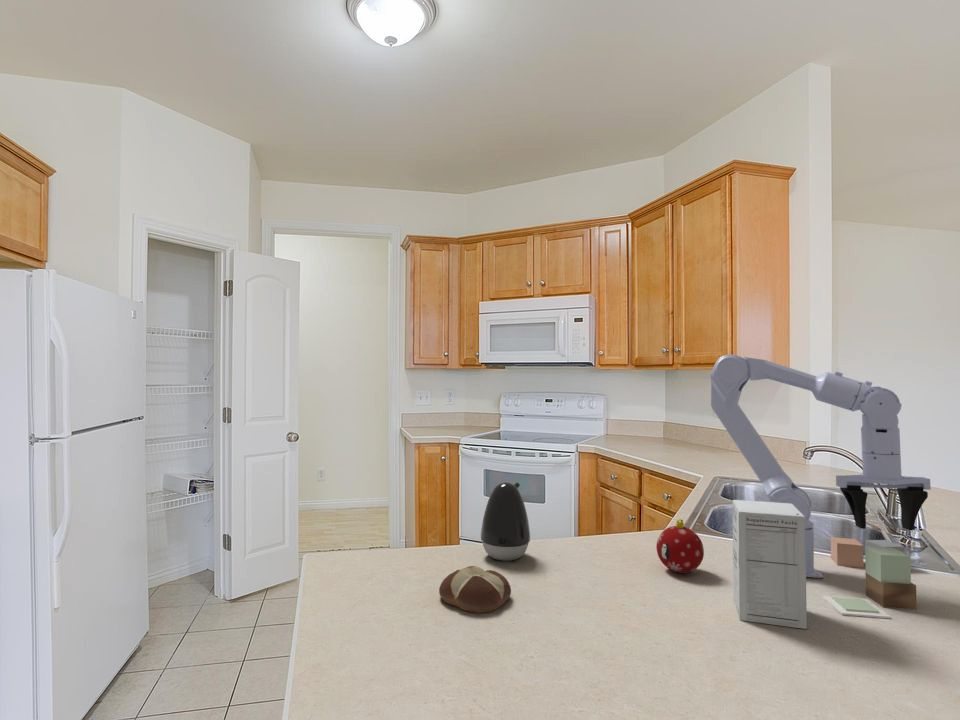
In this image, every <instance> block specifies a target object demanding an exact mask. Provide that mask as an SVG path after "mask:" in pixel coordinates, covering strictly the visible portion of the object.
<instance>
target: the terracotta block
mask: <svg viewBox="0 0 960 720" xmlns="http://www.w3.org/2000/svg"><path fill="white" fill-rule="evenodd" d="M830 559H831V560H832V561H833V562H834V563H835V565H836V566H842V567H849V568H860V569H864V561H865V560H864V544H862V543H861V542H859V541H858V539H856V538H845V537H844V538H843V537H833V536H830Z"/></svg>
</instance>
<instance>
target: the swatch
mask: <svg viewBox="0 0 960 720" xmlns="http://www.w3.org/2000/svg"><path fill="white" fill-rule="evenodd" d="M820 598H821V599H823V600H824V601H825V602H826V603H827V604H829V605H830V606H831V607H832V608H833V609H834V610H835V611H837V613H839V614H840V615H842V616H851V617H863V618H864V617H865V618H878V619H888V620H889V619H890V620H891V619H892V617H891V615H889V614H888V613H887V612H885V611H884V610H882V609H881V608H880V607H879V606H877V605H876V604H874V603H873V602H872V601H870V600H869V599H867V598H856V597H846V596H845V597H844V596H830V595H821V597H820Z"/></svg>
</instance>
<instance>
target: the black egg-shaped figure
mask: <svg viewBox="0 0 960 720" xmlns="http://www.w3.org/2000/svg"><path fill="white" fill-rule="evenodd" d="M519 488H520V483H519V482H515V483H514V484H513V483H512V482H511V483H510V482H501V483H499V484H498V483H497V485H496V486H495V487H494V489H493V490H492V492H491V494H490V496H489V498H488V501H487V503H486V506H485V509H484V514H483V519H482V522H481V523H482V524H481V529H480V540H481V542H482V546H483V548H484V551H485V552H486V554H487V555H488V556H489V557H491V558H492V559H495V560H498V561H501V562H502V561H505V562H509V561H514V560H517V559H519V558H520V557H522V556H523V555H524V554H525V553H526V551H527V549H528V547H529V543H530V542H531V530H530V523H529V516H528V513H527V508H526V505H525V501H524V500H523V497H522V494H521V492H520V490H519Z"/></svg>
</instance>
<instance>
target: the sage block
mask: <svg viewBox="0 0 960 720" xmlns="http://www.w3.org/2000/svg"><path fill="white" fill-rule="evenodd" d="M864 546H865V545H864ZM864 550H865V552H864V555H865V560H864V561H866V562H865V573H867V574H869V575H870V576H872V577H873V578H875V579H877V580H878V581H880V582H885V583H902V584H911V583H912V576H911V575H912V568H911V564H912V563H911V562H912V561H911V556H910V555H909V554H907V553H905V552H904V553H903V552H901V551H899V550H897V549H895V548H886V547H866V546H865V549H864Z"/></svg>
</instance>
